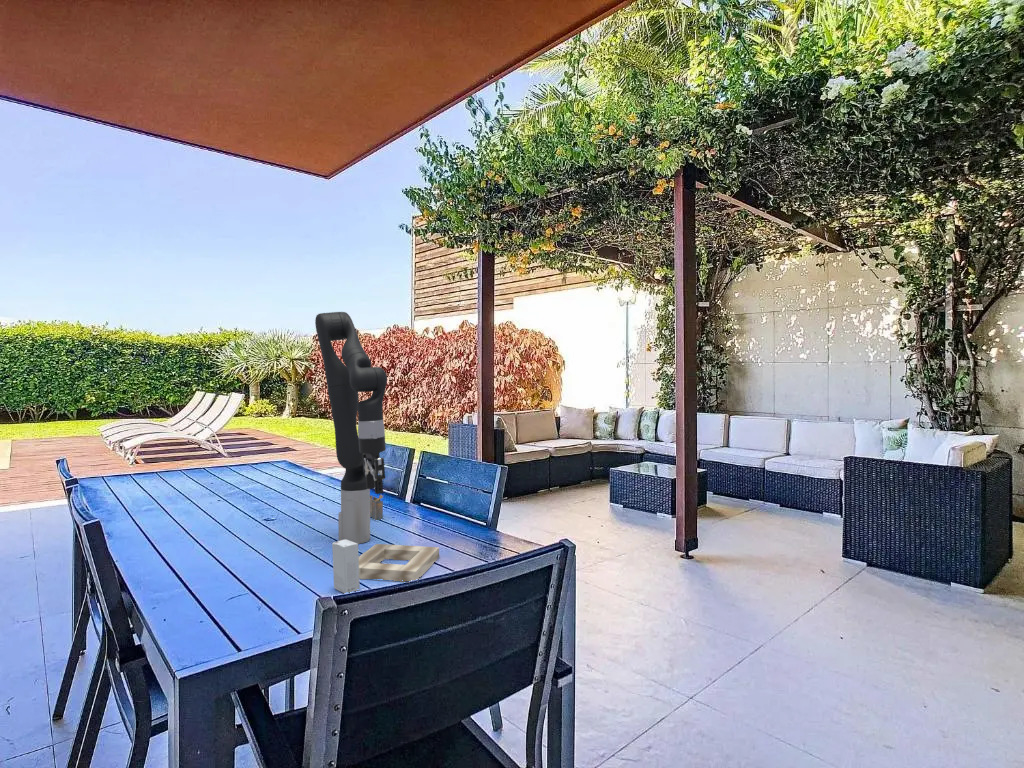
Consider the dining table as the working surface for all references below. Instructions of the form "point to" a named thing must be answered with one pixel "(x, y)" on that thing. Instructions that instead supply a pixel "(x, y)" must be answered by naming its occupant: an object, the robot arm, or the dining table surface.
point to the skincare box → (346, 566)
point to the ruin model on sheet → (376, 507)
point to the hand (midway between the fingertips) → (374, 490)
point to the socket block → (414, 569)
